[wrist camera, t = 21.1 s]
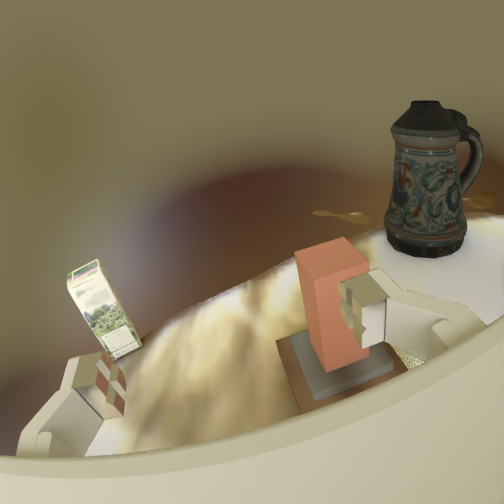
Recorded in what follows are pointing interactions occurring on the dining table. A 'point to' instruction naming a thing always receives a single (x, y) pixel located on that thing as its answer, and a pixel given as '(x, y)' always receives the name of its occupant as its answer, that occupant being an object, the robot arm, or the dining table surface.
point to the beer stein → (430, 180)
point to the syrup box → (103, 309)
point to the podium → (333, 372)
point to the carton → (330, 300)
